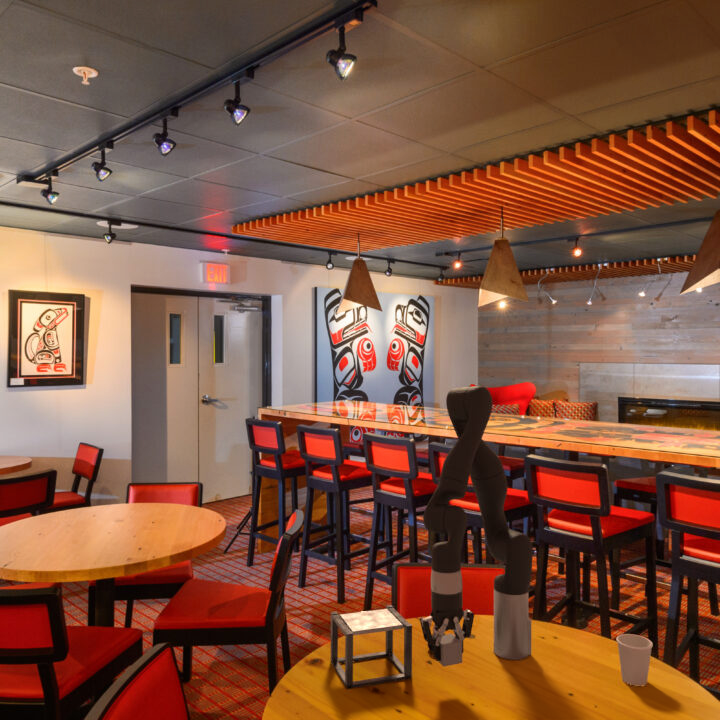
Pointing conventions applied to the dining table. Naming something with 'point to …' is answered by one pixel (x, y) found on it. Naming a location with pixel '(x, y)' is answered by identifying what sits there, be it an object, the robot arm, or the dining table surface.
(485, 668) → the dining table surface
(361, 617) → the trapdoor
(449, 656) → the gray cube
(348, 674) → the frame
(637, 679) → the dixie cup
